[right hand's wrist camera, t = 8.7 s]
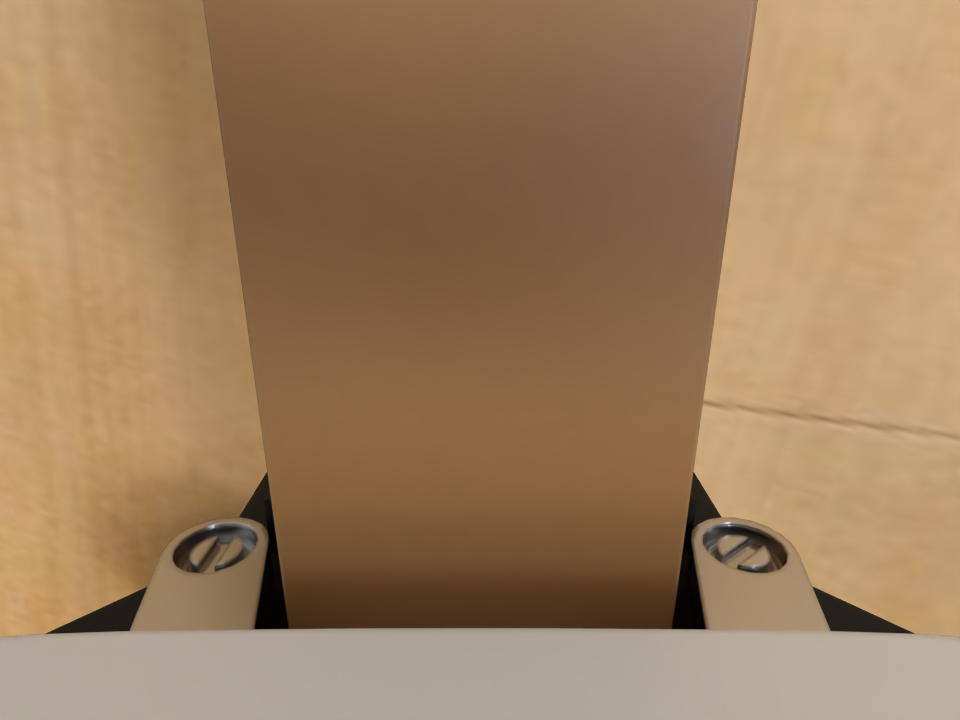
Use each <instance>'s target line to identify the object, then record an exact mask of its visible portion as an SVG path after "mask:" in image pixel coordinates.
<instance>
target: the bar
mask: <svg viewBox="0 0 960 720" xmlns="http://www.w3.org/2000/svg"><path fill="white" fill-rule="evenodd" d="M757 2H758V0H203V3H204V10H205V18H206V25H207V32H208V40H209V47H210V54H211V62H212V69H213V76H214V84H215V91H216V99H217V106H218V113H219V121H220V128H221V135H222V143H223V150H224V157H225V165H226V172H227V179H228V187H229V194H230V201H231V209H232V216H233V223H234V231H235V238H236V245H237V253H238V260H239V267H240V275H241V282H242V289H243V297H244V304H245V311H246V319H247V326H248V333H249V341H250V348H251V355H252V363H253V370H254V377H255V385H256V392H257V400H258V407H259V414H260V422H261V429H262V436H263V444H264V451H265V458H266V466H267V473H268V480H269V488H270V495H271V502H272V510H273V517H274V524H275V532H276V539H277V546H278V554H279V561H280V568H281V576H282V583H283V590H284V598H285V605H286V612H287V620H288V627H289V629H350V628H584V629H672V624H673V617H674V610H675V602H676V595H677V588H678V580H679V573H680V566H681V558H682V551H683V544H684V536H685V529H686V522H687V514H688V507H689V500H690V493H691V485H692V478H693V471H694V463H695V456H696V449H697V441H698V434H699V427H700V419H701V412H702V405H703V397H704V390H705V383H706V375H707V368H708V361H709V353H710V346H711V339H712V331H713V324H714V317H715V309H716V302H717V295H718V288H719V280H720V273H721V266H722V258H723V251H724V244H725V236H726V229H727V222H728V214H729V207H730V200H731V192H732V185H733V178H734V170H735V163H736V156H737V148H738V141H739V134H740V126H741V119H742V112H743V104H744V97H745V90H746V83H747V75H748V68H749V61H750V53H751V46H752V39H753V31H754V24H755V17H756V9H757Z"/></svg>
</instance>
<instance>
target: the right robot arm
mask: <svg viewBox="0 0 960 720" xmlns="http://www.w3.org/2000/svg"><path fill="white" fill-rule="evenodd" d="M0 720H960V637H954V636H944V635H929V634H914V633H912V632H910V631H908V630H906V629H903V628H901V627H899V626H897V625H895V624H893V623H890V622H888V621H886V620H884V619H882V618H880V617H877V616H875V615H873V614H871V613H869V612H867V611H864V610H862V609H860V608H858V607H856V606H854V605H851V604H849V603H847V602H845V601H843V600H841V599H838V598H836V597H834V596H832V595H830V594H828V593H825V592H823V591H821V590H819V589H817V588H815V587H812V585H811V583H810V580H809V578H808V575H807V573H806V570H805V568H804V566H803V563H802V561H801V558H800V556H799V554H798V552H797V551H796V549H795V548H794V546H793V545H792V543H791V542H789V541H788V540H787V539H786V538H785V537H784V536H782V535H781V534H780V533H778V532H776V531H774V530H772V529H771V528H769V527H767V526H764V525H761V524H759V523H756V522H753V521H749V520H744V519H739V518H725V517H721V516H720V514H719V513H718V511H717V509H716V508H715V506H714V504H713V503H712V501H711V500H710V498H709V496H708V495H707V493H706V491H705V490H704V488H703V486H702V485H701V483H700V482H699V480H698V478H697V477H696V475H695V473H694V472H693V478H692V485H691V493H690V500H689V507H688V514H687V522H686V529H685V536H684V544H683V551H682V558H681V566H680V573H679V580H678V588H677V595H676V602H675V610H674V617H673V624H672V629H584V628H350V629H289V627H288V620H287V612H286V605H285V598H284V590H283V583H282V576H281V568H280V561H279V554H278V546H277V539H276V532H275V524H274V517H273V510H272V502H271V495H270V488H269V480H268V473H266V475H265V476H264V478H263V479H262V481H261V483H260V484H259V486H258V488H257V489H256V491H255V492H254V494H253V496H252V497H251V499H250V501H249V502H248V504H247V505H246V507H245V509H244V510H243V512H242V514H241V515H240V517H235V518H221V519H216V520H211V521H207V522H204V523H201V524H199V525H196V526H193V527H191V528H189V529H188V530H186V531H184V532H182V533H180V534H179V535H178V536H176V537H175V538H174V539H173V540H172V541H171V542H169V543H168V545H167V546H166V548H165V549H164V551H163V552H162V554H161V556H160V558H159V561H158V563H157V566H156V568H155V570H154V573H153V575H152V578H151V580H150V583H149V585H148V587H146V588H144V589H142V590H140V591H137V592H135V593H133V594H131V595H129V596H127V597H124V598H122V599H120V600H118V601H116V602H113V603H111V604H109V605H107V606H105V607H103V608H100V609H98V610H96V611H94V612H92V613H90V614H87V615H85V616H83V617H81V618H79V619H77V620H74V621H72V622H70V623H68V624H66V625H64V626H61V627H59V628H57V629H55V630H53V631H51V632H48V633H46V634H32V635H16V636H6V637H0Z"/></svg>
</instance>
